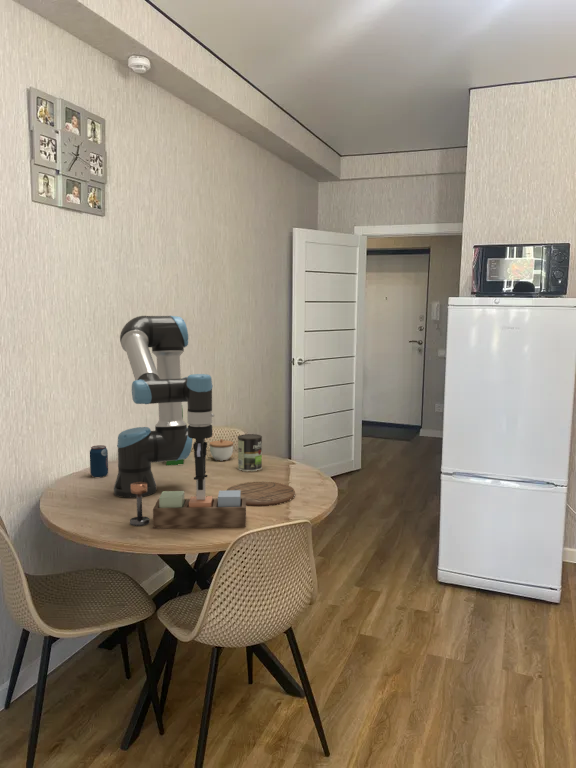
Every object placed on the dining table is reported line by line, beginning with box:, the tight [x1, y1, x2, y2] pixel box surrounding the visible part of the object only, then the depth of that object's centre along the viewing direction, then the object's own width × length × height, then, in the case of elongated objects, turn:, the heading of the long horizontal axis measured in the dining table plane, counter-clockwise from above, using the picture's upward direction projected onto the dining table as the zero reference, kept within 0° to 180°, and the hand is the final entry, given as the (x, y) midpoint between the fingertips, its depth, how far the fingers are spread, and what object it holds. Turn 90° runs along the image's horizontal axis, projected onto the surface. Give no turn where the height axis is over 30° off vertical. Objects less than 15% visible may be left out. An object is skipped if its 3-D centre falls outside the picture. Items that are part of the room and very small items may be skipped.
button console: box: [152, 497, 247, 529], centre depth 180 cm, size 28×10×6 cm, turn 93°
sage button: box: [158, 490, 186, 508], centre depth 179 cm, size 7×7×4 cm
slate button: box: [217, 489, 241, 507], centre depth 180 cm, size 7×7×4 cm
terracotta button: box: [189, 495, 213, 507], centre depth 180 cm, size 7×7×4 cm
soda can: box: [89, 445, 109, 478], centre depth 232 cm, size 7×7×12 cm
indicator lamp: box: [129, 482, 151, 527], centre depth 178 cm, size 6×6×12 cm
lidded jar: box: [209, 438, 234, 462], centre depth 261 cm, size 11×11×9 cm
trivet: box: [226, 481, 296, 507], centre depth 208 cm, size 25×25×2 cm
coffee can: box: [237, 433, 263, 472], centre depth 245 cm, size 10×10×14 cm
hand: (200, 498), depth 179 cm, fingers closed
